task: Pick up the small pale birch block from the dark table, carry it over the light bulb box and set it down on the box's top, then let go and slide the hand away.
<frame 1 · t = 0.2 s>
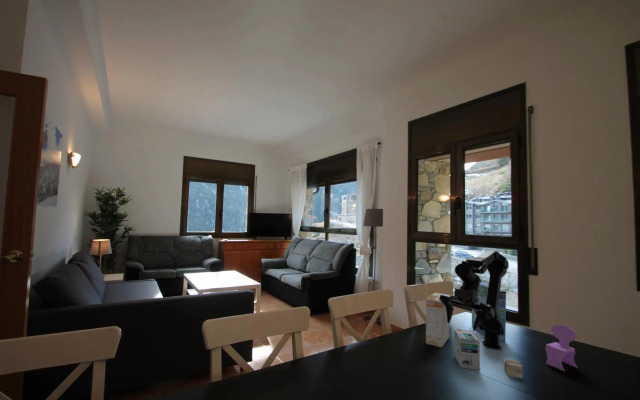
hand: (460, 326, 110), 15 cm above the table, tool tilted 30°, fingers open, 9 cm apart
birch block: (513, 374, 106), on the table
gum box: (487, 334, 144), on the table
toy chair: (561, 366, 113), on the table
coffeecake box: (437, 340, 133), on the table
light bulb box: (466, 363, 113), on the table
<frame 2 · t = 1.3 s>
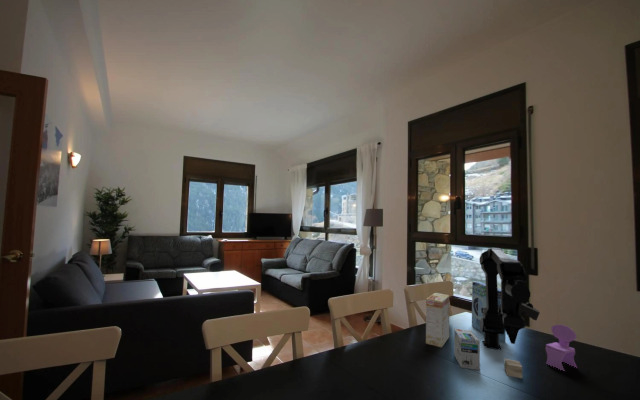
hand: (510, 339, 106), 12 cm above the table, tool pointing down, fingers open, 9 cm apart
nothing on the table moved.
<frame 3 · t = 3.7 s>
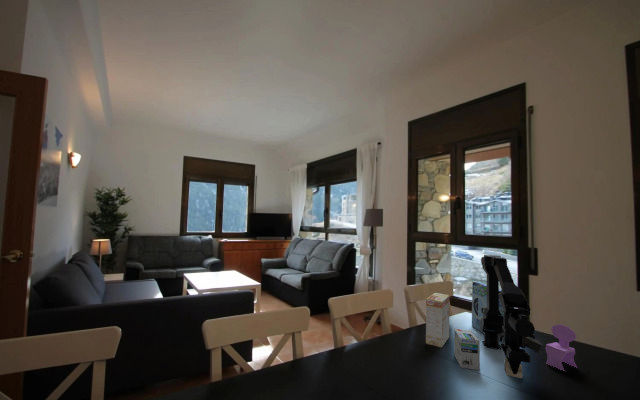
hand: (513, 370, 106), 1 cm above the table, tool pointing down, fingers closed on birch block, 4 cm apart
birch block: (513, 373, 106), on the table, touching gripper
everything else where it was.
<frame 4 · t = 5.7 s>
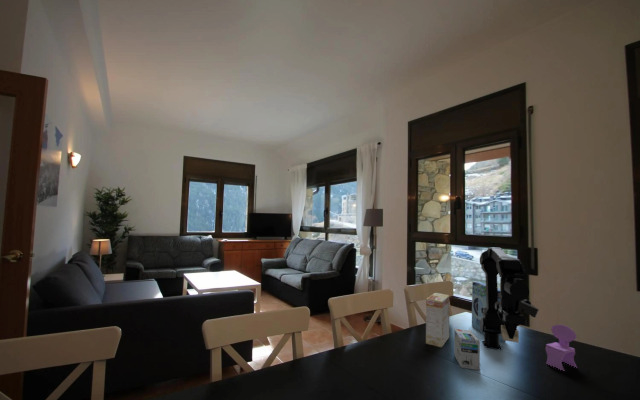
hand: (509, 336, 107), 13 cm above the table, tool pointing down, fingers closed on birch block, 4 cm apart
birch block: (509, 339, 107), point 12 cm above the table, touching gripper
everything else where it was.
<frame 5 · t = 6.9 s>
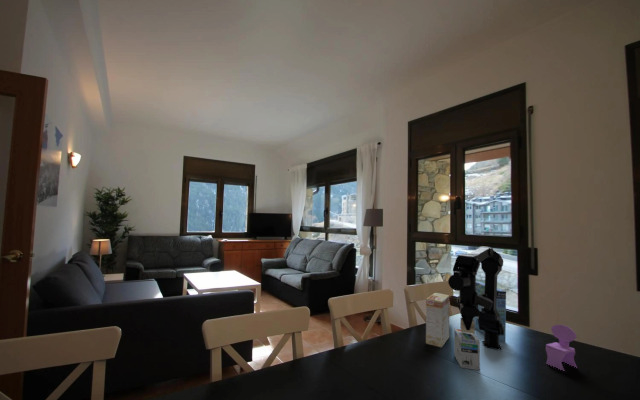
hand: (467, 327, 114), 13 cm above the table, tool pointing down, fingers closed on birch block, 4 cm apart
birch block: (467, 330, 114), point 12 cm above the table, touching gripper
everything else where it was.
when the fingers open (13 cm above the table, at t = 7.9 s): birch block drops 1 cm, resting on light bulb box.
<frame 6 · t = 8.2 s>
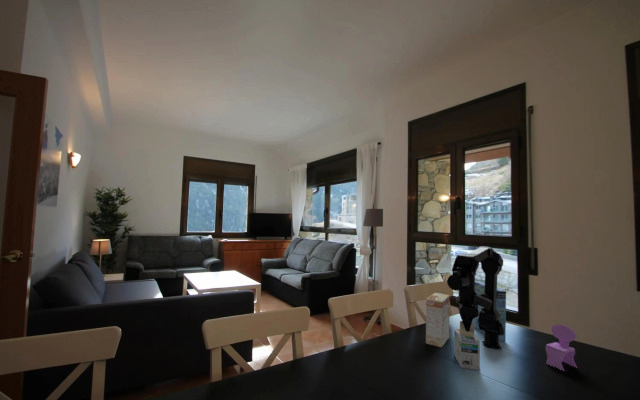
hand: (466, 327, 114), 13 cm above the table, tool pointing down, fingers open, 8 cm apart
birch block: (466, 334, 114), point 11 cm above the table, touching light bulb box
light bulb box: (466, 363, 113), on the table, touching birch block
everything else where it was.
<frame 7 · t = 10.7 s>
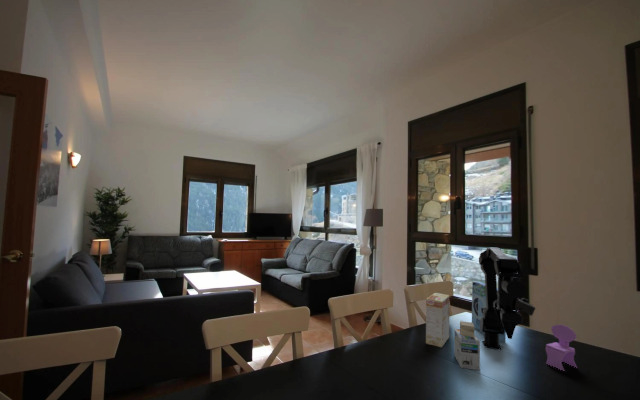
hand: (507, 334, 109), 13 cm above the table, tool pointing down, fingers open, 9 cm apart
nothing on the table moved.
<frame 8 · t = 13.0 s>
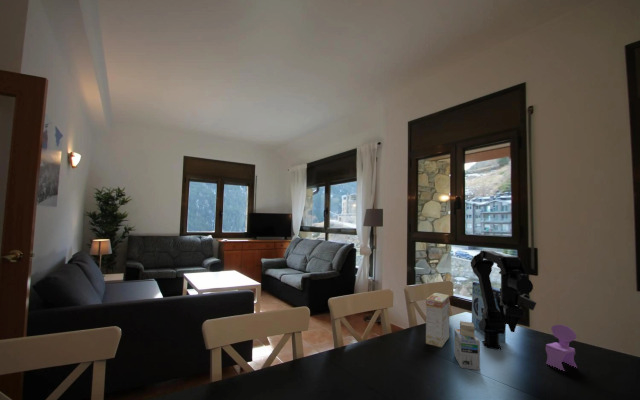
hand: (509, 327, 116), 13 cm above the table, tool pointing down, fingers open, 9 cm apart
nothing on the table moved.
at the end: birch block 0.2 cm off-centre on the light bulb box, point 11.0 cm above the light bulb box's base; birch block tilted 0°; the gripper is holding nothing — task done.
